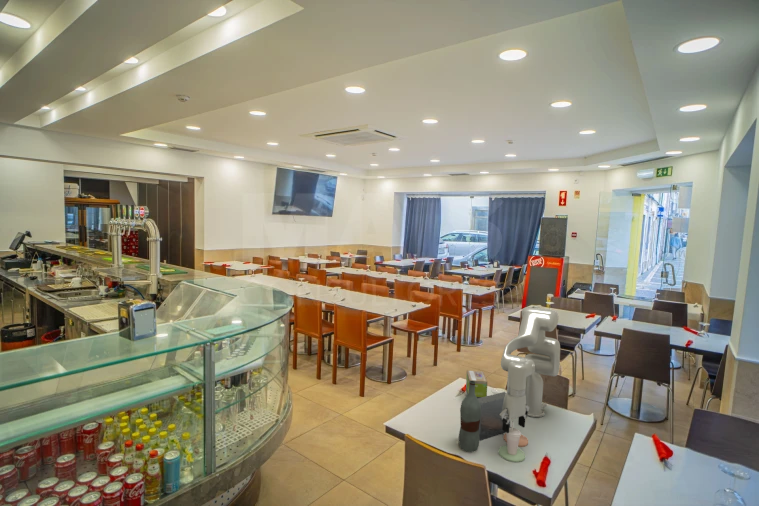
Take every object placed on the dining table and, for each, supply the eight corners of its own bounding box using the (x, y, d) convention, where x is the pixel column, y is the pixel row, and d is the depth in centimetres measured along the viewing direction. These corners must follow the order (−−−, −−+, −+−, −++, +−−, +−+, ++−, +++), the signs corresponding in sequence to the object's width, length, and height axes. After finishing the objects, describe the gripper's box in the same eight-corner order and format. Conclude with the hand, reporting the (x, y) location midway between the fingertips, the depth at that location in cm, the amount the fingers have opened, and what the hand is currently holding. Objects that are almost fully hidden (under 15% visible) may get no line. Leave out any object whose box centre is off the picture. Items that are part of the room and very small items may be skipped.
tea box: (465, 394, 235) (466, 369, 234) (482, 395, 234) (483, 370, 233) (468, 405, 220) (469, 379, 219) (486, 407, 219) (488, 380, 218)
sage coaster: (510, 445, 181) (510, 443, 181) (530, 458, 172) (530, 455, 172) (493, 451, 176) (493, 449, 176) (512, 464, 166) (512, 462, 166)
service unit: (502, 424, 201) (504, 390, 200) (512, 430, 195) (515, 396, 193) (468, 433, 190) (471, 398, 189) (479, 441, 184) (481, 404, 183)
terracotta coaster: (514, 432, 193) (514, 430, 193) (533, 443, 184) (533, 441, 184) (498, 437, 188) (498, 435, 188) (516, 449, 178) (516, 447, 178)
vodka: (455, 441, 183) (459, 377, 181) (475, 441, 184) (479, 377, 181) (461, 452, 174) (465, 386, 171) (481, 452, 174) (486, 386, 172)
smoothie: (502, 448, 177) (503, 417, 176) (516, 448, 177) (517, 417, 176) (507, 456, 170) (509, 425, 169) (522, 456, 171) (524, 425, 170)
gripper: (522, 383, 179) (520, 420, 181) (494, 391, 171) (492, 429, 172) (536, 390, 173) (534, 428, 174) (508, 398, 164) (506, 438, 166)
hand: (513, 428), depth 173 cm, fingers open, 9 cm apart
